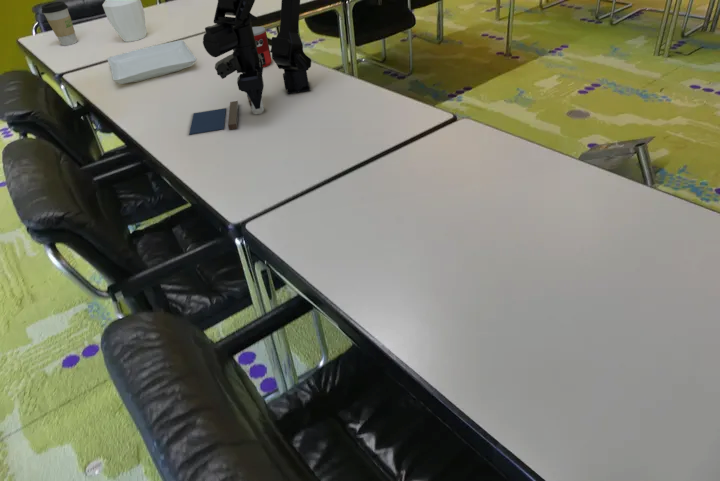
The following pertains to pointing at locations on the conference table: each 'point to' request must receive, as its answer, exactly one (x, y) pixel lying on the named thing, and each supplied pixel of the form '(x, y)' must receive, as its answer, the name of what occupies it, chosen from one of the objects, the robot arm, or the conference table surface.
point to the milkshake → (254, 111)
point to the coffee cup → (60, 22)
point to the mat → (208, 121)
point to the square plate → (150, 62)
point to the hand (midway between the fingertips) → (257, 101)
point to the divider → (233, 115)
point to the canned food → (262, 45)
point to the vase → (126, 18)
